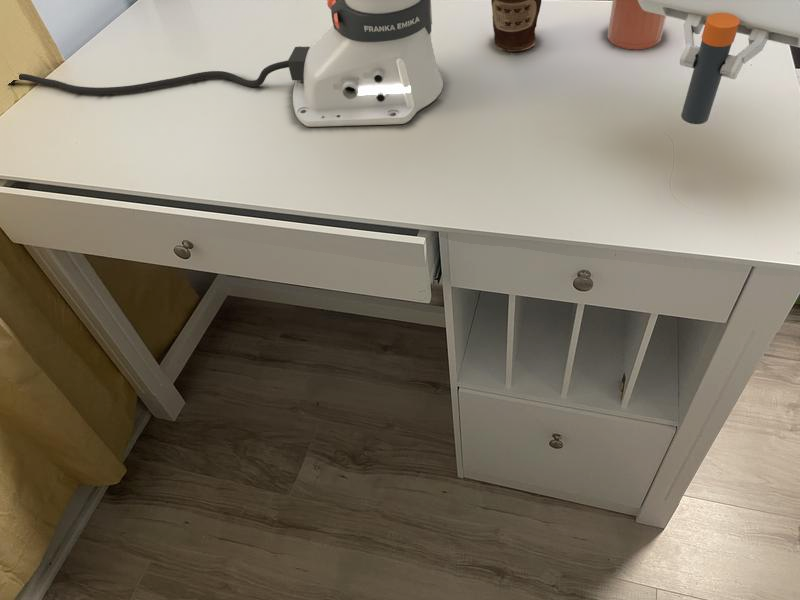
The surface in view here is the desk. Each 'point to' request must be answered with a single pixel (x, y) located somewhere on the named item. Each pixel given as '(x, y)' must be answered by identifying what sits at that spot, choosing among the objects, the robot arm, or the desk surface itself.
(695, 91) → the marker
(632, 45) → the pen cup
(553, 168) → the desk surface
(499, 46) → the coffee cup
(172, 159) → the desk surface
